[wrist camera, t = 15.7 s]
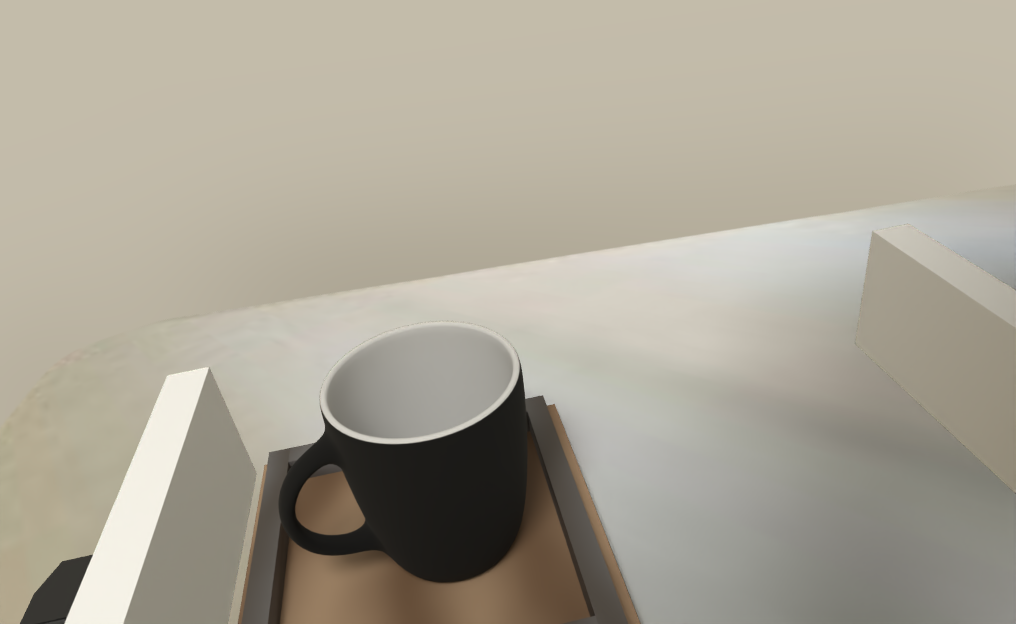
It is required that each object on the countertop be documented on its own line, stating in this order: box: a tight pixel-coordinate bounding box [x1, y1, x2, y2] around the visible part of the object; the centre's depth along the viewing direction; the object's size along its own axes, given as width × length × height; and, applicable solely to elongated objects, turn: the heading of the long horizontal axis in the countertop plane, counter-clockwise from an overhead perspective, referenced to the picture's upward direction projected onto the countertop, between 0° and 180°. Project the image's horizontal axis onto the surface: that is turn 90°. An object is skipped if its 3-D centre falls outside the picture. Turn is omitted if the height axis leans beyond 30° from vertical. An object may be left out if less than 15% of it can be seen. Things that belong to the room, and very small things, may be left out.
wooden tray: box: [238, 396, 640, 624], centre depth 36 cm, size 18×18×3 cm
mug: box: [278, 321, 528, 583], centre depth 33 cm, size 12×9×10 cm
